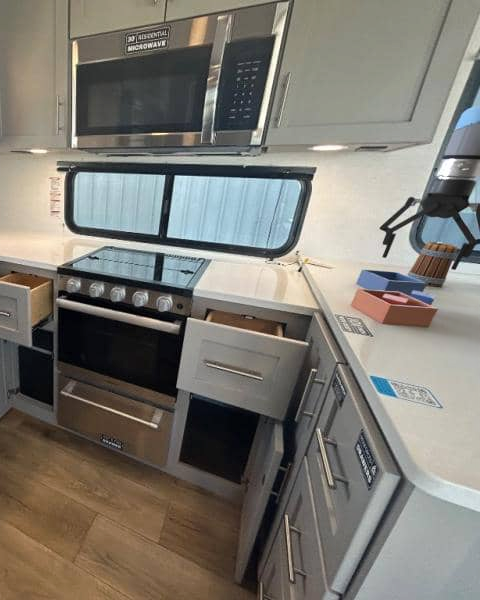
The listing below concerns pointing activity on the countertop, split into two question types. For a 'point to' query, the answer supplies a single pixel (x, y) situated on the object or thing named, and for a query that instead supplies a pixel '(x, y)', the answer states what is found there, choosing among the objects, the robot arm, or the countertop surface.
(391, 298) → the red block
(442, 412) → the countertop surface
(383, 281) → the blue bin
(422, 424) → the countertop surface
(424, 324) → the terracotta bin
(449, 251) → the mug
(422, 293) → the blue block
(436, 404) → the countertop surface
